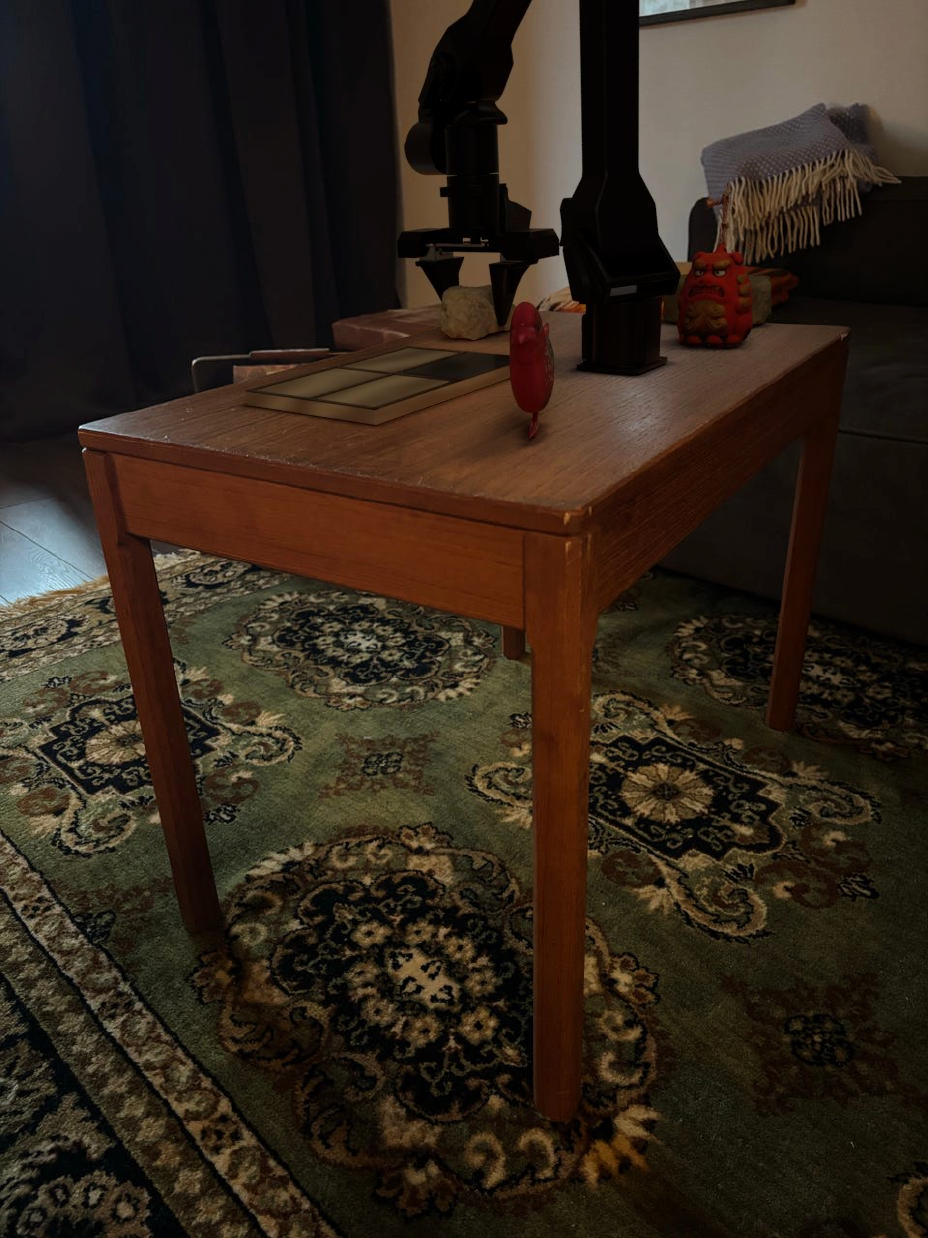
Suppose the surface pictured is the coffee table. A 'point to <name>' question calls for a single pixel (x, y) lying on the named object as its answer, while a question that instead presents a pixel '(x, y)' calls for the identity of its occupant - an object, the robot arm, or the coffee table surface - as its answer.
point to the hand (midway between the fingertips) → (478, 324)
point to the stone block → (759, 305)
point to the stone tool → (470, 312)
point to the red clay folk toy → (716, 295)
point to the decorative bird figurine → (530, 362)
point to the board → (384, 384)
